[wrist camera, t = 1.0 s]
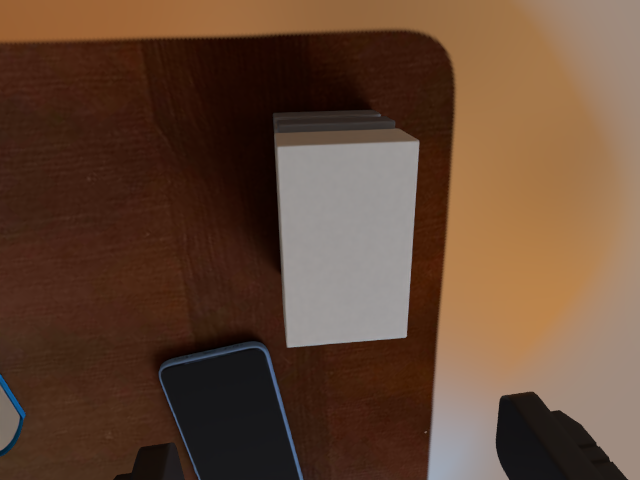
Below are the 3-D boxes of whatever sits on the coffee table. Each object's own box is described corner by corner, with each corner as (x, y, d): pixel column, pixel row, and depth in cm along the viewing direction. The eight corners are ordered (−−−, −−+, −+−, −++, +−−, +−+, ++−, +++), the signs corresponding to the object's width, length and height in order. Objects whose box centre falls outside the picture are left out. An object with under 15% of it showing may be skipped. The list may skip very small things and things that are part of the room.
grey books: (272, 110, 26) (275, 125, 21) (373, 107, 26) (397, 120, 22) (281, 276, 29) (285, 318, 25) (368, 270, 30) (388, 310, 25)
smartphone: (264, 342, 30) (309, 502, 36) (264, 335, 31) (308, 492, 37) (151, 368, 30) (214, 525, 36) (153, 360, 31) (215, 515, 36)
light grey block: (274, 132, 21) (276, 145, 18) (399, 128, 22) (420, 140, 19) (283, 314, 25) (286, 348, 22) (390, 306, 25) (406, 337, 23)
